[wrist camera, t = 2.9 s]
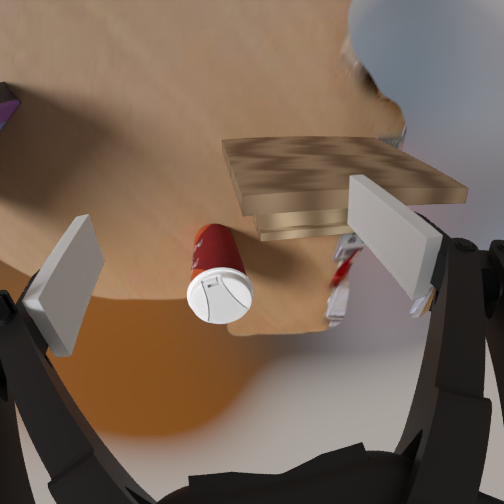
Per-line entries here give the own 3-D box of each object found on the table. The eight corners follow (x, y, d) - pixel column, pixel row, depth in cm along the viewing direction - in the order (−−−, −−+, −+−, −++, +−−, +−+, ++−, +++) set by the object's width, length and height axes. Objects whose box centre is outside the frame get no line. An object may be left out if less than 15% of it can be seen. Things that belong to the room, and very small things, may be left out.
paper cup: (179, 227, 45) (175, 288, 33) (230, 209, 45) (244, 265, 33) (199, 269, 49) (203, 335, 37) (246, 253, 49) (264, 316, 37)
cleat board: (226, 226, 46) (247, 325, 29) (221, 140, 39) (242, 195, 22) (365, 214, 49) (438, 291, 32) (374, 138, 42) (468, 188, 25)
